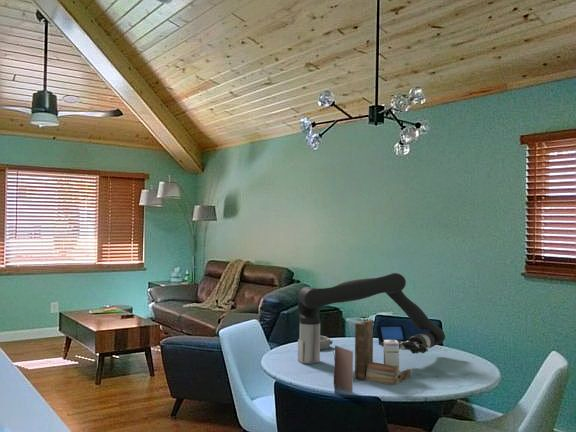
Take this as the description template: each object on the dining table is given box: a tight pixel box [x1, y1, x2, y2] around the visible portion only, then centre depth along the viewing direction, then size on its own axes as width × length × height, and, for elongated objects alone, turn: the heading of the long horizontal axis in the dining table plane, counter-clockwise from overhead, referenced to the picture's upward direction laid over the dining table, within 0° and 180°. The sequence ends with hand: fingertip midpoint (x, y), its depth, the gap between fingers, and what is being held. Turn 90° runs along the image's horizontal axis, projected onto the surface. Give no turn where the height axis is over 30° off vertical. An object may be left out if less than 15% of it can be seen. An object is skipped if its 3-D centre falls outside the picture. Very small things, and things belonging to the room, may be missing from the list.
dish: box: [320, 335, 334, 350], centre depth 272 cm, size 14×14×5 cm
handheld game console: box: [375, 324, 408, 347], centre depth 280 cm, size 16×13×9 cm
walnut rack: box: [354, 319, 412, 383], centre depth 218 cm, size 18×16×22 cm
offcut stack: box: [365, 361, 401, 386], centre depth 214 cm, size 6×12×6 cm, turn 53°
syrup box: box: [383, 340, 400, 371], centre depth 220 cm, size 6×6×14 cm
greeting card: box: [332, 345, 354, 394], centre depth 202 cm, size 11×7×15 cm, turn 175°
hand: (403, 349), depth 229 cm, fingers open, 8 cm apart
